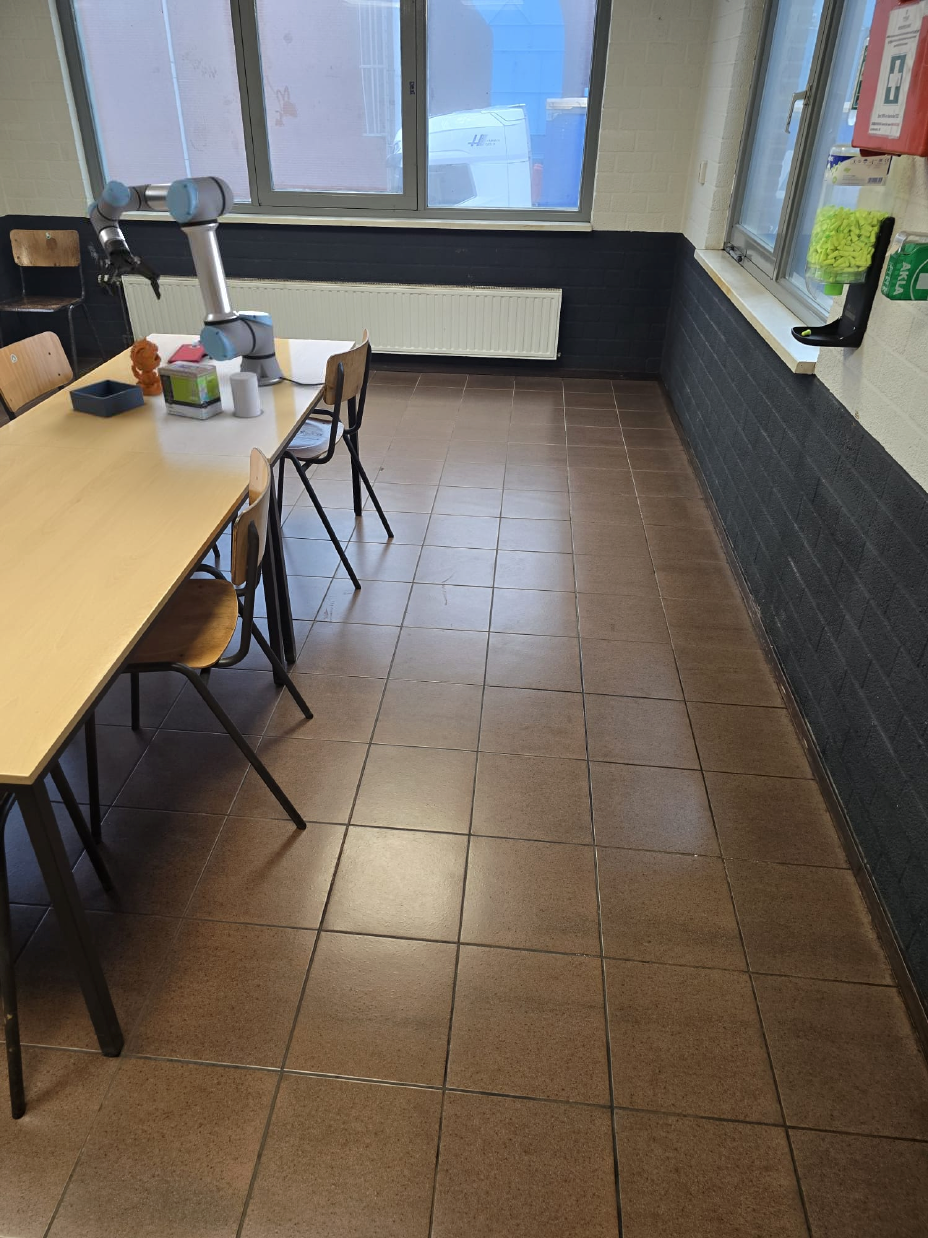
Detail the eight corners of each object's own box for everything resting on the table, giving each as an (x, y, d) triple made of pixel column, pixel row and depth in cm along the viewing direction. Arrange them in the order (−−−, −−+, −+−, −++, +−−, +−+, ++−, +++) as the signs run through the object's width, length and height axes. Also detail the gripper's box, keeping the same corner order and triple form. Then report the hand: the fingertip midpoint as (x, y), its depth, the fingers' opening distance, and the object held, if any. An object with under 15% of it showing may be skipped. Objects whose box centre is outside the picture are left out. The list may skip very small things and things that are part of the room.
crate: (144, 404, 273) (141, 386, 270) (107, 417, 262) (102, 398, 259) (111, 396, 280) (107, 378, 276) (73, 409, 268) (68, 391, 265)
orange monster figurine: (176, 389, 287) (166, 335, 277) (156, 398, 278) (146, 343, 269) (148, 386, 290) (138, 332, 280) (128, 395, 281) (117, 340, 272)
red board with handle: (224, 341, 339) (187, 342, 339) (223, 334, 338) (186, 335, 337) (208, 363, 314) (168, 364, 314) (207, 355, 313) (166, 356, 312)
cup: (264, 409, 270) (259, 372, 264) (256, 417, 263) (251, 379, 257) (239, 408, 271) (234, 371, 264) (231, 416, 264) (225, 378, 258)
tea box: (224, 411, 268) (217, 364, 260) (203, 420, 261) (195, 373, 253) (186, 404, 274) (179, 358, 266) (165, 413, 266) (156, 366, 258)
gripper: (149, 249, 294) (173, 301, 292) (76, 256, 281) (101, 311, 279) (152, 235, 287) (177, 288, 285) (77, 241, 274) (102, 297, 272)
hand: (139, 299), depth 282 cm, fingers open, 13 cm apart
